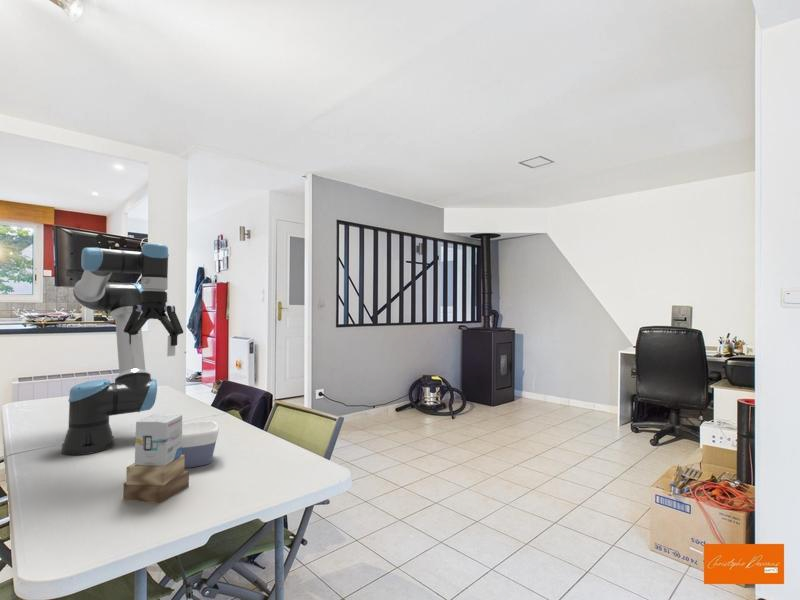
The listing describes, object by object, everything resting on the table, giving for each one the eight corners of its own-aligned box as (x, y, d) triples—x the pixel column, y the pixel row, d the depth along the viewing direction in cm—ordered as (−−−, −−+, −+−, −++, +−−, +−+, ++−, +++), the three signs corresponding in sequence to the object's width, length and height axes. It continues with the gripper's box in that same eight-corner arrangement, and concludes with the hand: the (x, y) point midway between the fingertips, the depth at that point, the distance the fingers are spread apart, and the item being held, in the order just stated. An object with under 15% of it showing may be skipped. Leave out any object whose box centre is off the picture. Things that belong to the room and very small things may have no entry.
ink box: (152, 454, 121) (153, 413, 121) (182, 455, 121) (183, 413, 121) (133, 465, 112) (135, 421, 113) (165, 466, 112) (166, 422, 113)
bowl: (165, 474, 129) (166, 437, 129) (166, 457, 142) (167, 424, 143) (220, 465, 136) (221, 431, 136) (216, 451, 149) (217, 419, 150)
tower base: (123, 500, 112) (123, 483, 112) (155, 483, 123) (155, 467, 123) (159, 505, 110) (159, 487, 110) (188, 487, 120) (189, 471, 120)
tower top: (126, 484, 111) (126, 467, 111) (149, 469, 121) (150, 454, 121) (163, 485, 111) (164, 468, 111) (184, 470, 121) (184, 454, 121)
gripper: (112, 289, 139) (110, 354, 138) (180, 290, 134) (178, 357, 134) (130, 290, 146) (128, 352, 146) (195, 291, 142) (194, 355, 141)
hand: (152, 355), depth 140 cm, fingers open, 13 cm apart
